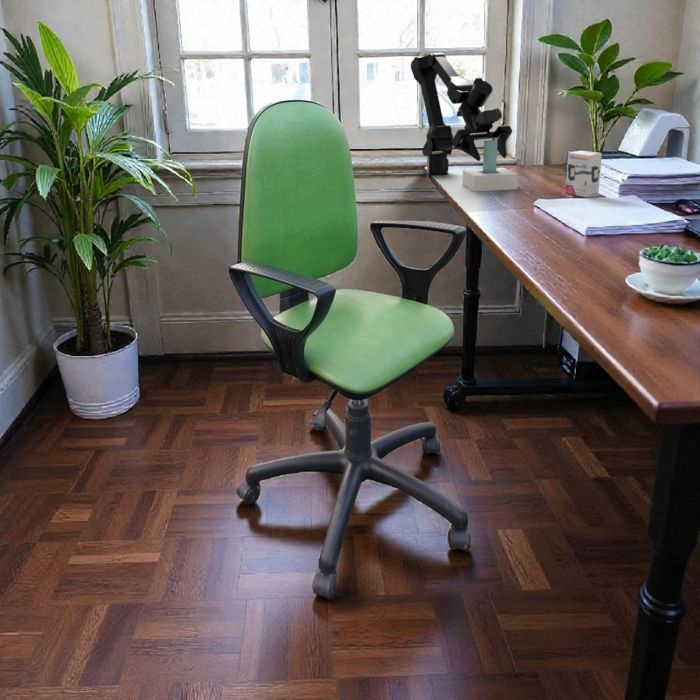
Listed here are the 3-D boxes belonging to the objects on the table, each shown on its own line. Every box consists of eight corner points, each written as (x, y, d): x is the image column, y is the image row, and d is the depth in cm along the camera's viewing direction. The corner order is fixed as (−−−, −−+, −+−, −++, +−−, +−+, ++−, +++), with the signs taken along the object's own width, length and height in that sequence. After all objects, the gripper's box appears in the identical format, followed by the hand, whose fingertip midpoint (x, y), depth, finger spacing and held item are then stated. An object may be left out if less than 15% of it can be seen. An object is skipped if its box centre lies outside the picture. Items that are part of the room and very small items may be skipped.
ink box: (564, 193, 219) (567, 151, 214) (576, 191, 221) (579, 150, 217) (586, 197, 212) (590, 154, 207) (599, 195, 214) (603, 152, 210)
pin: (481, 184, 231) (482, 142, 226) (483, 182, 234) (485, 140, 230) (494, 184, 230) (496, 142, 225) (496, 182, 233) (498, 140, 229)
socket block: (474, 191, 226) (474, 176, 224) (462, 184, 238) (462, 169, 236) (516, 189, 227) (517, 174, 226) (502, 182, 239) (503, 167, 237)
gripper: (457, 101, 223) (477, 143, 218) (510, 97, 230) (530, 138, 225) (443, 127, 233) (462, 168, 227) (494, 122, 239) (513, 162, 234)
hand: (492, 158), depth 228 cm, fingers open, 9 cm apart
